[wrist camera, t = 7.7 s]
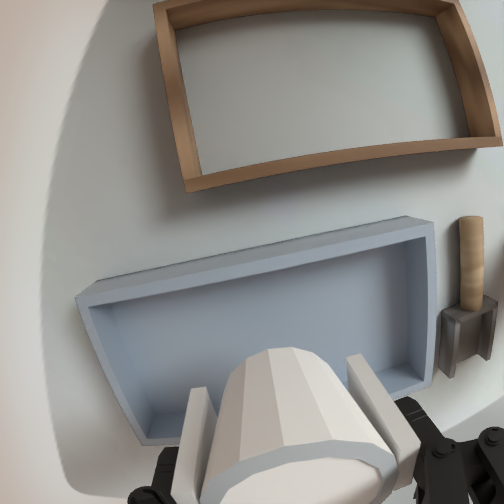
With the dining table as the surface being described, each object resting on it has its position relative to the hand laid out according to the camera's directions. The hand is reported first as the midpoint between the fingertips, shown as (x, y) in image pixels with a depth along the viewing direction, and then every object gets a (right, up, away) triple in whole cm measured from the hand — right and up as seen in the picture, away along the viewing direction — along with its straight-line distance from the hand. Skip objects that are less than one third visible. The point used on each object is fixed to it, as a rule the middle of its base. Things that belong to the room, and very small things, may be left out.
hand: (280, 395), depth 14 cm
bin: (0, +2, +7) cm, 7 cm away
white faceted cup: (0, 0, +1) cm, 1 cm away
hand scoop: (+16, +3, +7) cm, 18 cm away
